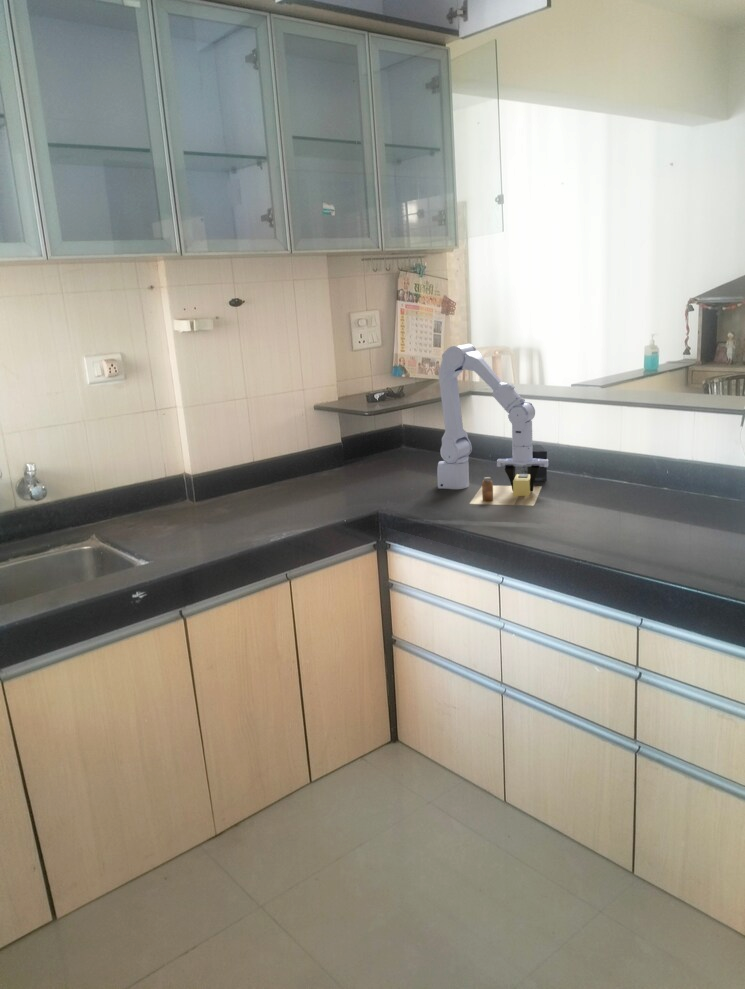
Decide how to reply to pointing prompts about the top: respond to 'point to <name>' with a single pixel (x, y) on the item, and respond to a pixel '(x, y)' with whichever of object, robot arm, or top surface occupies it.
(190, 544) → the top surface
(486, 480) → the brown jar
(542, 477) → the small box
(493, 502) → the plywood panel
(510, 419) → the robot arm
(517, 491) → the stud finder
